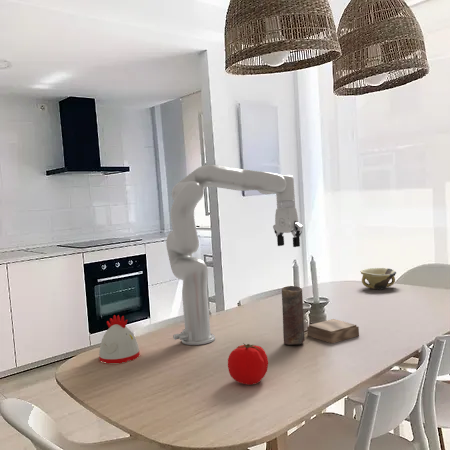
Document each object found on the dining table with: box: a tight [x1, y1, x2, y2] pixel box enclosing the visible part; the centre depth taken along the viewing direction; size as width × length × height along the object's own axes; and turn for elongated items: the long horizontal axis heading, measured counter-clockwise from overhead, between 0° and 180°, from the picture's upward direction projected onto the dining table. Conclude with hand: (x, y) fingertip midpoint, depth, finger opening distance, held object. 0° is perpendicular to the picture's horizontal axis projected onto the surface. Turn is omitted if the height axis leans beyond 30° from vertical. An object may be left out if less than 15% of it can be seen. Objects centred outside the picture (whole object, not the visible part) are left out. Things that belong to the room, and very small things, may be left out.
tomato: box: [227, 343, 269, 386], centre depth 141 cm, size 12×12×11 cm
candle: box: [281, 285, 306, 346], centre depth 173 cm, size 8×7×20 cm
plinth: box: [306, 318, 360, 344], centre depth 179 cm, size 13×13×4 cm
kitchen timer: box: [98, 314, 141, 364], centre depth 172 cm, size 14×14×15 cm
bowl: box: [360, 267, 397, 290], centre depth 255 cm, size 18×18×10 cm
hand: (288, 246), depth 204 cm, fingers open, 9 cm apart
